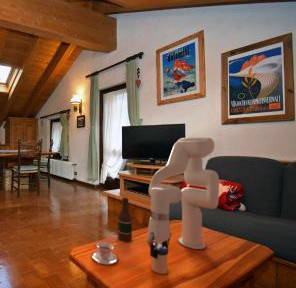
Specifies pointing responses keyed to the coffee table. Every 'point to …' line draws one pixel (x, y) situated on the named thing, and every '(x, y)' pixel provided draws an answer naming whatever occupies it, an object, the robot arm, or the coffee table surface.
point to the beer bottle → (125, 222)
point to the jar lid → (162, 249)
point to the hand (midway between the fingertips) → (159, 254)
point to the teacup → (104, 254)
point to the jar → (159, 264)
